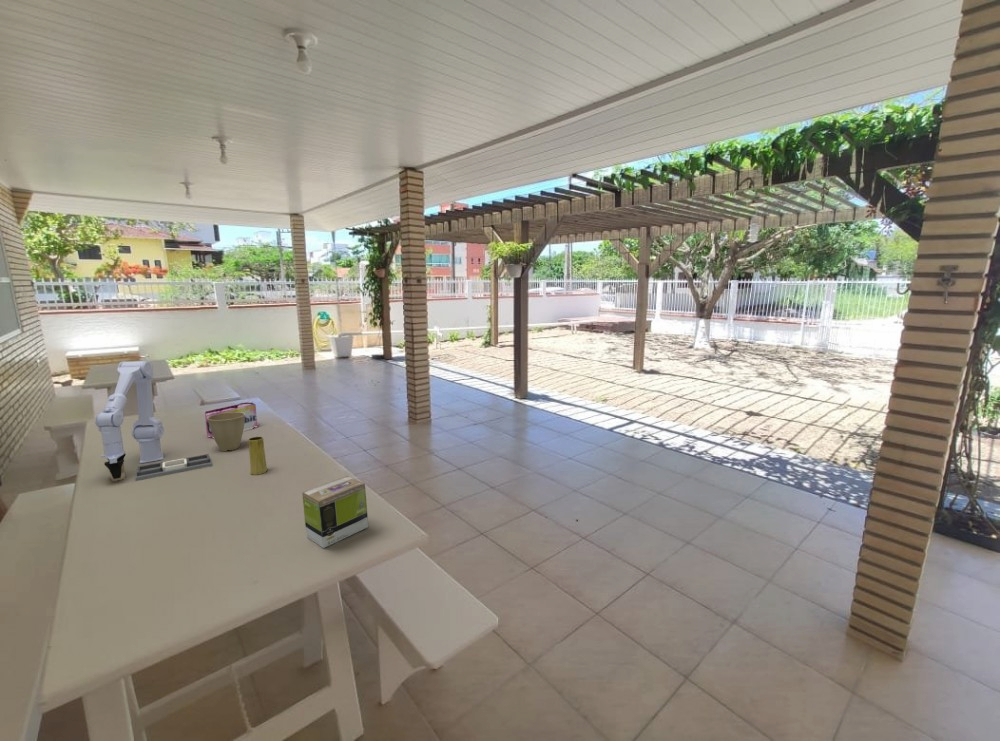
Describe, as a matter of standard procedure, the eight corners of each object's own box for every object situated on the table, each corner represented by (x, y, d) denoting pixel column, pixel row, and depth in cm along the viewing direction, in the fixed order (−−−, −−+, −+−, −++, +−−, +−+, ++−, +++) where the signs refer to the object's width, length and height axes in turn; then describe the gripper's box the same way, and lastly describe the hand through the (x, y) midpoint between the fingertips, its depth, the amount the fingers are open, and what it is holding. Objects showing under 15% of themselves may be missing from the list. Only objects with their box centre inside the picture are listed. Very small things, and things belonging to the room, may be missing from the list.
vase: (259, 475, 174) (256, 441, 171) (246, 474, 175) (243, 440, 172) (270, 469, 179) (267, 436, 177) (257, 468, 181) (254, 435, 178)
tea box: (350, 518, 140) (348, 474, 138) (369, 528, 134) (366, 482, 131) (305, 537, 128) (301, 490, 126) (322, 549, 122) (319, 500, 120)
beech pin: (111, 478, 171) (109, 464, 170) (126, 475, 174) (124, 461, 173) (110, 482, 168) (108, 467, 167) (125, 479, 170) (123, 464, 169)
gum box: (213, 440, 217) (210, 414, 215) (204, 438, 221) (201, 412, 219) (258, 427, 238) (255, 403, 236) (248, 425, 242) (246, 402, 240)
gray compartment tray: (137, 471, 177) (136, 465, 177) (210, 458, 192) (209, 452, 192) (135, 480, 169) (134, 474, 168) (212, 465, 184) (211, 460, 183)
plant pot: (235, 454, 197) (232, 420, 195) (203, 454, 198) (199, 420, 195) (254, 443, 212) (251, 411, 210) (224, 443, 212) (221, 411, 210)
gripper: (101, 439, 172) (106, 472, 174) (96, 449, 160) (102, 484, 162) (124, 436, 176) (129, 467, 178) (121, 445, 164) (126, 479, 167)
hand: (117, 475), depth 170 cm, fingers open, 6 cm apart
